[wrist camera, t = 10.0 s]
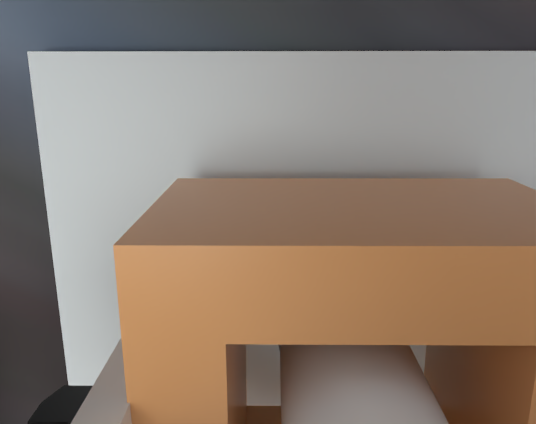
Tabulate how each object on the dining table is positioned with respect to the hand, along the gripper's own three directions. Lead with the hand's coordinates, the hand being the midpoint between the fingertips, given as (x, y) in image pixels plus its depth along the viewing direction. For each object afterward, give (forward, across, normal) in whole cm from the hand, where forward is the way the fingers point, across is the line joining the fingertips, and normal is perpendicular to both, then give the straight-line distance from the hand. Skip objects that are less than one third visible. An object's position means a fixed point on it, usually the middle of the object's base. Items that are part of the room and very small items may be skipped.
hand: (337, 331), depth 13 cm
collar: (0, 0, 0) cm, 0 cm away
